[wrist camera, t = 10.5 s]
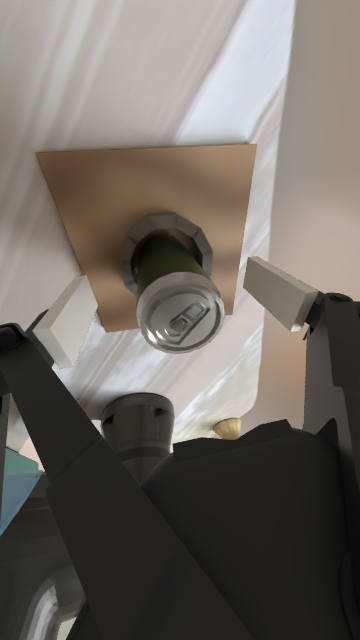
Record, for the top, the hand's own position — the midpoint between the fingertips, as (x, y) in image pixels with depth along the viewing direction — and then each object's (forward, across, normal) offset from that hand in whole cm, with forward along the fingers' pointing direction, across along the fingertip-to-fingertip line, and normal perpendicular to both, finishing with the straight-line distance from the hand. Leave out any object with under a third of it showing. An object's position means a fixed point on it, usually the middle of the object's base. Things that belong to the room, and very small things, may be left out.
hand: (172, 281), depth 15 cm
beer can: (+6, 0, 0) cm, 6 cm away
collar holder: (+7, 0, 0) cm, 7 cm away
